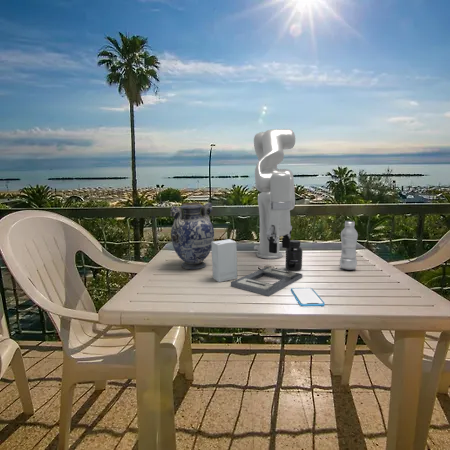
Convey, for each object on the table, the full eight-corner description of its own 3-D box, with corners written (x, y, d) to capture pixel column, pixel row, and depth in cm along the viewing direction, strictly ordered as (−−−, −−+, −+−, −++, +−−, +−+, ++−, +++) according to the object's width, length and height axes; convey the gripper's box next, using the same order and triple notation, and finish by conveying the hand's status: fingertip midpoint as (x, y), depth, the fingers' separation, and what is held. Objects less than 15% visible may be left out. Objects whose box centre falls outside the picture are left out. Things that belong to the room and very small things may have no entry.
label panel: (230, 286, 115) (230, 281, 115) (267, 270, 133) (267, 266, 133) (268, 296, 105) (268, 291, 104) (302, 277, 123) (302, 273, 122)
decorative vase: (184, 276, 127) (181, 206, 123) (162, 266, 141) (158, 203, 137) (225, 265, 140) (224, 202, 136) (201, 258, 155) (199, 200, 150)
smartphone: (311, 287, 111) (325, 303, 96) (311, 291, 111) (325, 307, 96) (290, 288, 111) (300, 304, 96) (290, 291, 111) (300, 308, 96)
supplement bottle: (292, 272, 130) (292, 243, 128) (282, 268, 136) (282, 240, 134) (305, 269, 133) (306, 241, 131) (294, 265, 139) (295, 238, 137)
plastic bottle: (358, 272, 128) (360, 222, 125) (340, 271, 130) (342, 222, 127) (355, 267, 135) (357, 220, 132) (338, 266, 136) (340, 220, 133)
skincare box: (230, 275, 127) (230, 238, 125) (238, 279, 122) (237, 241, 120) (211, 278, 124) (210, 240, 122) (218, 282, 119) (217, 243, 116)
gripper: (282, 204, 130) (282, 245, 133) (259, 207, 117) (259, 253, 119) (299, 204, 125) (299, 247, 128) (276, 208, 112) (276, 256, 115)
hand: (279, 250), depth 124 cm, fingers open, 9 cm apart
